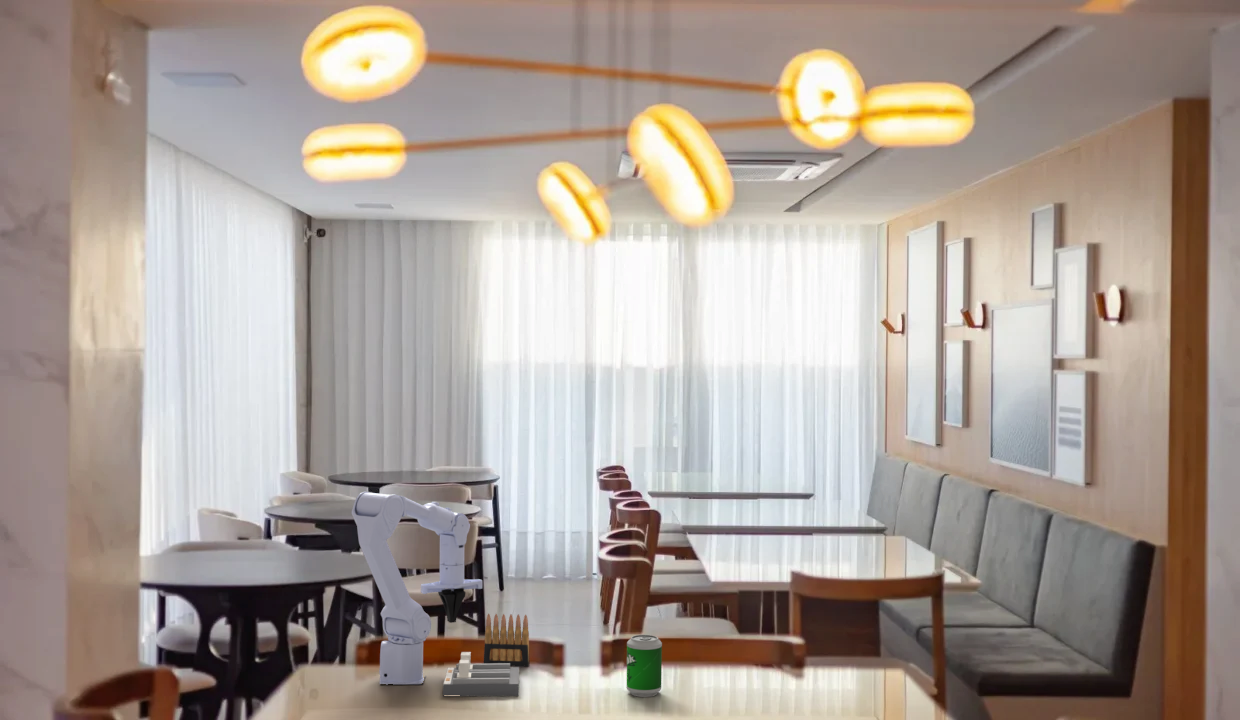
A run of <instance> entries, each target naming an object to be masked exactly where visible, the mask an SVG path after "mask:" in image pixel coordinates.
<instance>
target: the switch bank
mask: <svg viewBox="0 0 1240 720" xmlns="http://www.w3.org/2000/svg"><path fill="white" fill-rule="evenodd" d="M455 665H456V666H455V667H447V668H446V673H445V676H444V680H443V684H442V696H443V695H460V696H459V697H510V696H511V697H512V696H513V697H514V696H515V697H517V696H518V697H519V693H520V691H519V690H520V687H519V686H520V684H519V683H520V667H519V666H510V663H497V664H483V663H471V665H473V670H469V673H471V678H457V673H459V670H458V668H459V663H456V664H455Z"/></svg>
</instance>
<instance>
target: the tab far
mask: <svg viewBox="0 0 1240 720" xmlns="http://www.w3.org/2000/svg"><path fill="white" fill-rule="evenodd" d="M471 653H472V652H471V651H461V653H460V660H469V670H473V665H471V664H472V663H471V656H472V655H471ZM458 670H459V668H458Z"/></svg>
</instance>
